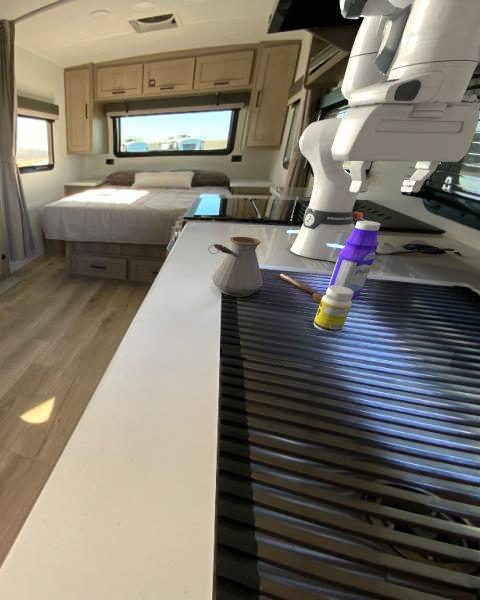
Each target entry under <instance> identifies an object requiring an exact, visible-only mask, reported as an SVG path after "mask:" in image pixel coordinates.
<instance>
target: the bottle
mask: <svg viewBox="0 0 480 600" xmlns="http://www.w3.org/2000/svg"><path fill="white" fill-rule="evenodd" d="M380 228H381V223H380V222H377V221H372V220H357V221H356V224H355V229H354V231H353V233H352V235H351V236H350V237H349V238H348V239H347V240H346V243H347V244H346V246H345V247H344V248H343V249H342V250H341V252H340V254H339V256H338V259H337V262H335V265H334V268H333V272H332V275H331V277H330V280H329V282H328V286H327V288H328V287H329V286H332V285H337V286H343V287H346V288H349V289H351V290H353V291H354V294H353V296H352V299H354V298H356V297H358V296H359V295H360V294H361V293H362V292H363V289H364V286H365V283H366V281H367V278H368V276H369V273H370V270H371V269H372V265H373V264H374V261H375V258H376V254H375V247H376V246H377V247H378V245H379V242H378V233H379V230H380Z"/></svg>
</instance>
